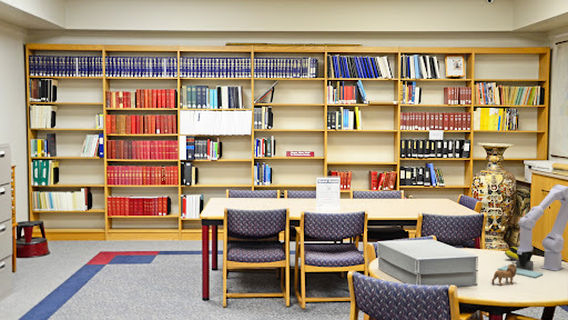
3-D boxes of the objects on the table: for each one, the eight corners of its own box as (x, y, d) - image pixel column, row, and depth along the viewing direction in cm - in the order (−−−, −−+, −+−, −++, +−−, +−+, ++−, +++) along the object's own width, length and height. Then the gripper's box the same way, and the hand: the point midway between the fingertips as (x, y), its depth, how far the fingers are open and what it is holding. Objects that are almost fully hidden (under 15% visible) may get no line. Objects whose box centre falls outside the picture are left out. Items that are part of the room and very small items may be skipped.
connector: (514, 265, 289) (514, 257, 289) (534, 270, 282) (534, 261, 281) (511, 267, 287) (511, 258, 287) (531, 271, 279) (531, 262, 279)
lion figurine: (509, 280, 263) (510, 262, 263) (519, 283, 259) (520, 264, 258) (488, 284, 257) (488, 265, 256) (497, 287, 252) (498, 268, 251)
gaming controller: (503, 260, 301) (522, 263, 295) (504, 250, 300) (523, 253, 295) (510, 255, 313) (528, 257, 307) (510, 245, 313) (529, 248, 307)
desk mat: (505, 267, 287) (506, 265, 287) (542, 274, 273) (542, 273, 273) (497, 270, 281) (498, 268, 281) (535, 278, 267) (535, 276, 267)
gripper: (524, 236, 290) (522, 261, 291) (511, 240, 280) (510, 266, 282) (537, 239, 285) (536, 264, 286) (525, 243, 275) (524, 269, 276)
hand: (524, 265), depth 283 cm, fingers open, 4 cm apart
